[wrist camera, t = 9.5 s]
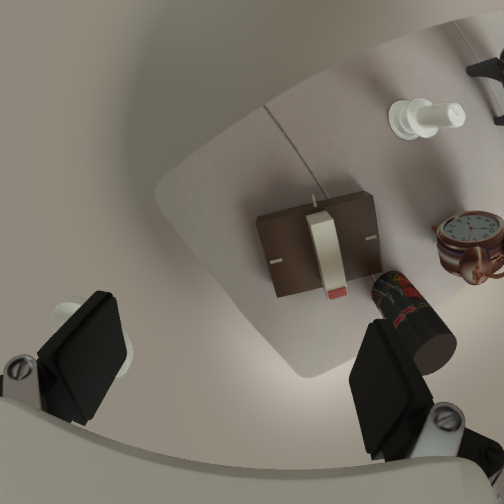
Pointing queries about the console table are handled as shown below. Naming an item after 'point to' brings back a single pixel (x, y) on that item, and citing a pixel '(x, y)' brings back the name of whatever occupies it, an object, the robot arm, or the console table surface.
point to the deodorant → (414, 322)
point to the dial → (327, 254)
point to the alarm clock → (472, 245)
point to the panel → (301, 246)
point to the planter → (490, 74)
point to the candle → (423, 117)
